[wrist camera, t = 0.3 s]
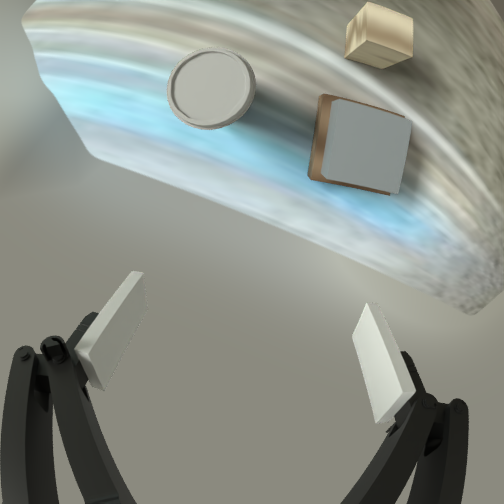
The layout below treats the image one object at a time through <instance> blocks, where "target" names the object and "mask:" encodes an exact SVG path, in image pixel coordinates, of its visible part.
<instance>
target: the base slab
mask: <svg viewBox="0 0 504 504" xmlns="http://www.w3.org/2000/svg"><path fill="white" fill-rule="evenodd" d="M337 99H342V100H346V101H350V102H354V103H358V104H361V105H365V106H368V107H372V108H375V109H378V110H382V111H385V112H388V113H391V114H394V115H397V116H400V117H403V118H405V116H402V115H399V114H397V113H394V112H391V111H388V110H384V109H381V108H378V107H375V106H371V105H368V104H364V103H361V102H357V101H353V100H349V99H345V98H341V97H337V96H333V95H328V94H322V95H321V96H319V101H318V109H317V116H316V123H315V130H314V137H313V143H312V150H311V156H310V163H309V169H308V177H309V178H310V179H311V180H315V181H320V182H326V183H332V184H337V185H342V186H347V187H352V188H357V189H362V190H367V191H371V192H376V193H380V194H384V195H389V196H390V192H386V191H382V190H378V189H373V188H369V187H364V186H360V185H355V184H350V183H345V182H340V181H335V180H330V179H326V178H325V177H324V176H323V175H322V174H321V168H322V162H323V156H324V150H325V144H326V138H327V131H328V125H329V118H330V111H331V104H332V101H335V100H337Z"/></svg>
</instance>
